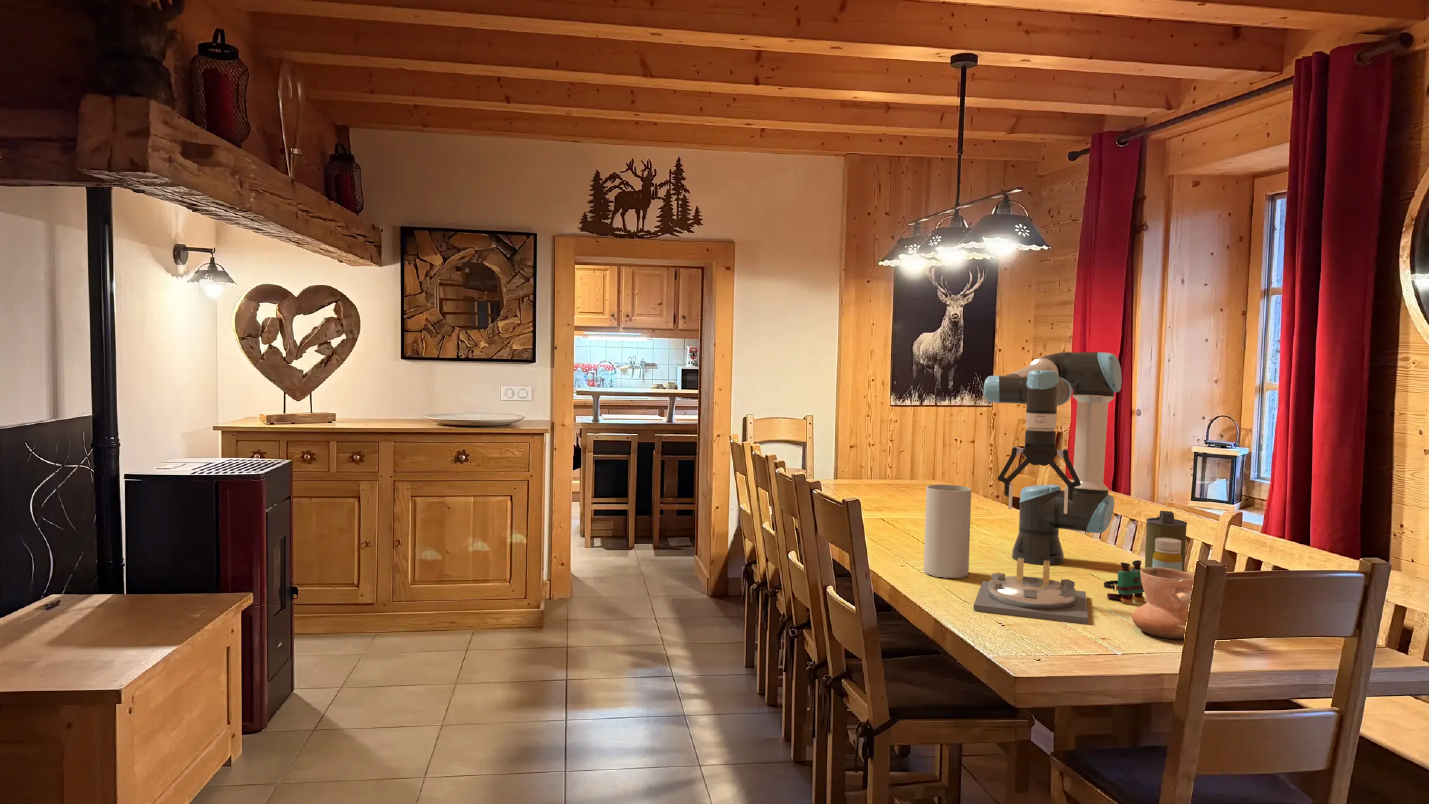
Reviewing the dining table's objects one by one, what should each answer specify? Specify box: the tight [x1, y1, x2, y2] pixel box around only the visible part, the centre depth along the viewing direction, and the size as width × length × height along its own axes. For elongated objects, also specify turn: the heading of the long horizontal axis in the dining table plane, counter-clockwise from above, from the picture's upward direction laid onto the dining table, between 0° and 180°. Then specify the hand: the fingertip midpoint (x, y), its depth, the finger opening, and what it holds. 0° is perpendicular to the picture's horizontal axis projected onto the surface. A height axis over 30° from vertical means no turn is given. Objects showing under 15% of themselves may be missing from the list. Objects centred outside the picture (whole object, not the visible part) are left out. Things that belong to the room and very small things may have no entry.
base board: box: [973, 580, 1089, 625], centre depth 229 cm, size 26×26×2 cm
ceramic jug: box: [1131, 567, 1195, 640], centre depth 206 cm, size 18×14×14 cm
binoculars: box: [1103, 559, 1146, 605], centre depth 235 cm, size 9×11×10 cm
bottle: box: [1152, 538, 1182, 571], centre depth 239 cm, size 7×7×15 cm
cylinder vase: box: [923, 484, 972, 579], centre depth 258 cm, size 12×12×25 cm
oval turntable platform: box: [988, 558, 1077, 610], centre depth 229 cm, size 21×21×8 cm
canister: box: [1144, 510, 1188, 572], centre depth 254 cm, size 11×10×20 cm
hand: (1037, 510), depth 235 cm, fingers open, 13 cm apart
